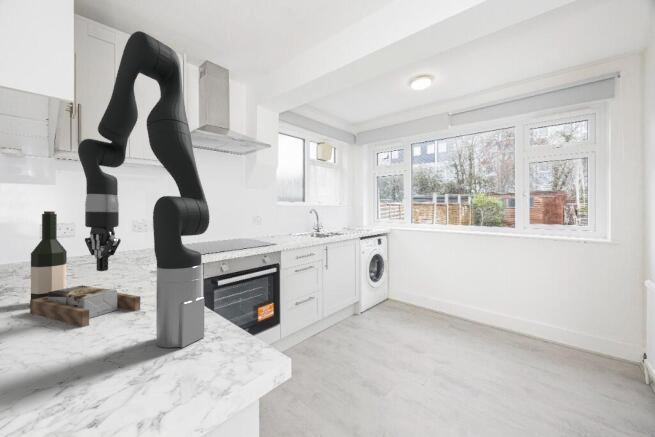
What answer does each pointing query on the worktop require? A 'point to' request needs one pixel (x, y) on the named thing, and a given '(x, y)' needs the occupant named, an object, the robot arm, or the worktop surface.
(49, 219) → the wine bottle
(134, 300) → the wooden frame
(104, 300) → the coffee box
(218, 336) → the worktop surface
